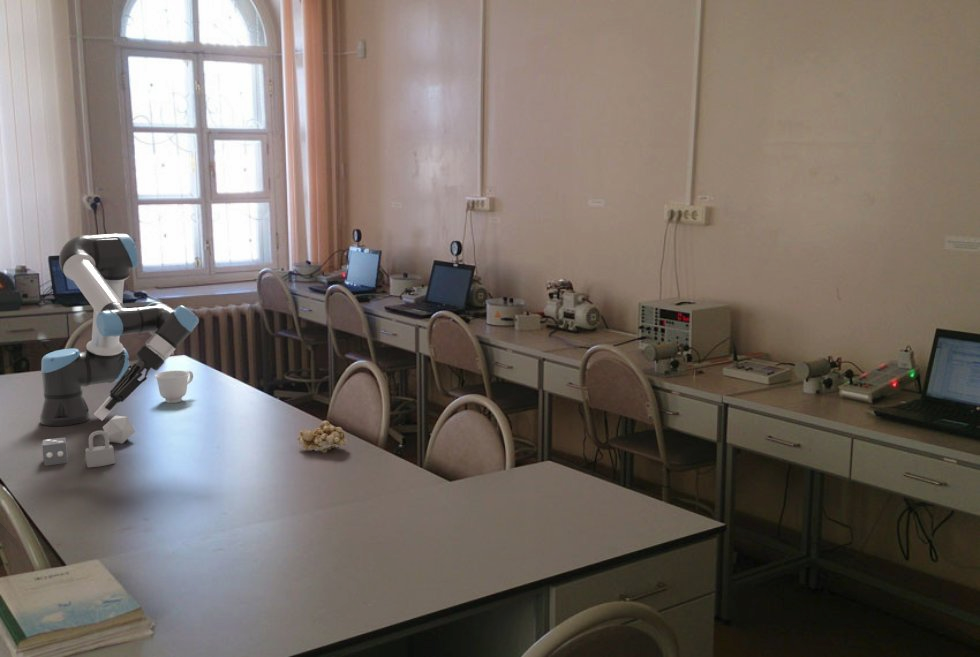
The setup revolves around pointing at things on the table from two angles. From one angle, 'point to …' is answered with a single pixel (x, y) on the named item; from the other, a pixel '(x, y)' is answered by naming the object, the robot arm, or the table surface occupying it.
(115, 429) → the die
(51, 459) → the dotted block
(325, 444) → the mineral formation
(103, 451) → the padlock
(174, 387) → the teacup
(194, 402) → the table surface
